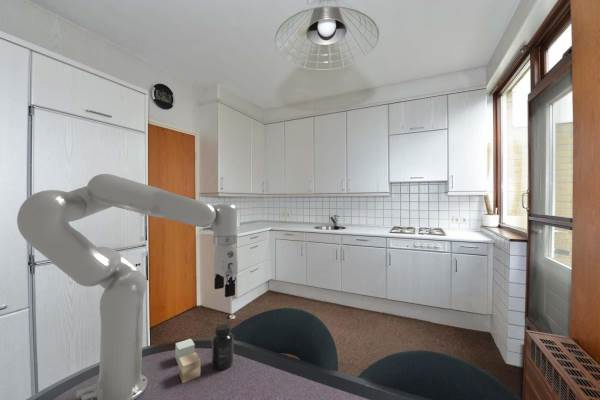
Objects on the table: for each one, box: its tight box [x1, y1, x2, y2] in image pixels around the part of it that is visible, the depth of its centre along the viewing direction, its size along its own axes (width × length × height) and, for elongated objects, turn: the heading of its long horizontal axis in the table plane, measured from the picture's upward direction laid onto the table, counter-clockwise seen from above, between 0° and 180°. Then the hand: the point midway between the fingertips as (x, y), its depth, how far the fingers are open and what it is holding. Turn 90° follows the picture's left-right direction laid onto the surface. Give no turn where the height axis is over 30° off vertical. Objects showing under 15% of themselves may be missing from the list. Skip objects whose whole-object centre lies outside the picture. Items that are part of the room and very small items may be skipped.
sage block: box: [174, 338, 196, 366], centre depth 83 cm, size 5×5×5 cm
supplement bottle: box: [211, 323, 234, 371], centre depth 81 cm, size 7×7×12 cm
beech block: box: [178, 352, 202, 384], centre depth 75 cm, size 5×5×5 cm
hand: (224, 292), depth 81 cm, fingers open, 9 cm apart
